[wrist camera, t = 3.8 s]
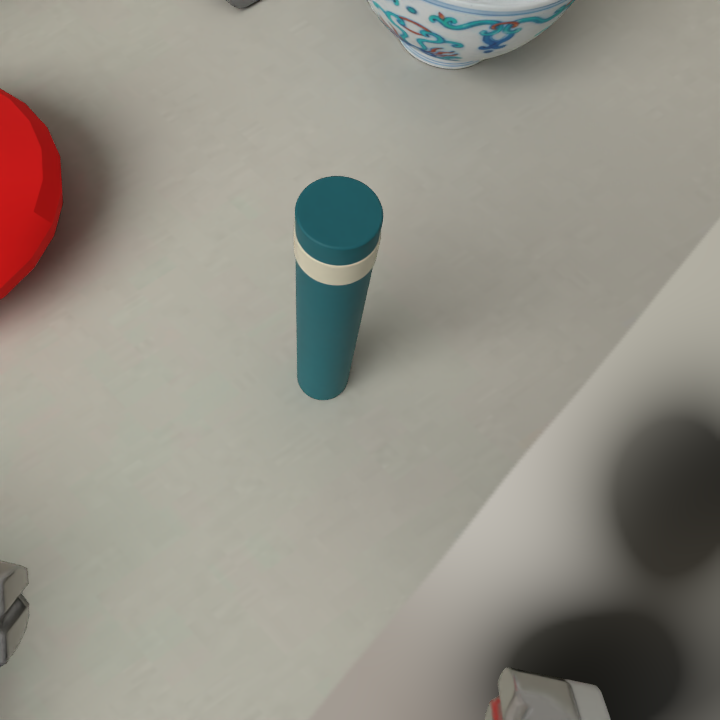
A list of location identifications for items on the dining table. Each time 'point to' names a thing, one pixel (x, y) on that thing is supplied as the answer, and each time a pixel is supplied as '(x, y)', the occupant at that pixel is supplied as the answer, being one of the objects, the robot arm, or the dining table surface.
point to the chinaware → (466, 27)
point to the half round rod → (241, 3)
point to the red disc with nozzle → (25, 190)
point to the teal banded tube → (332, 278)
